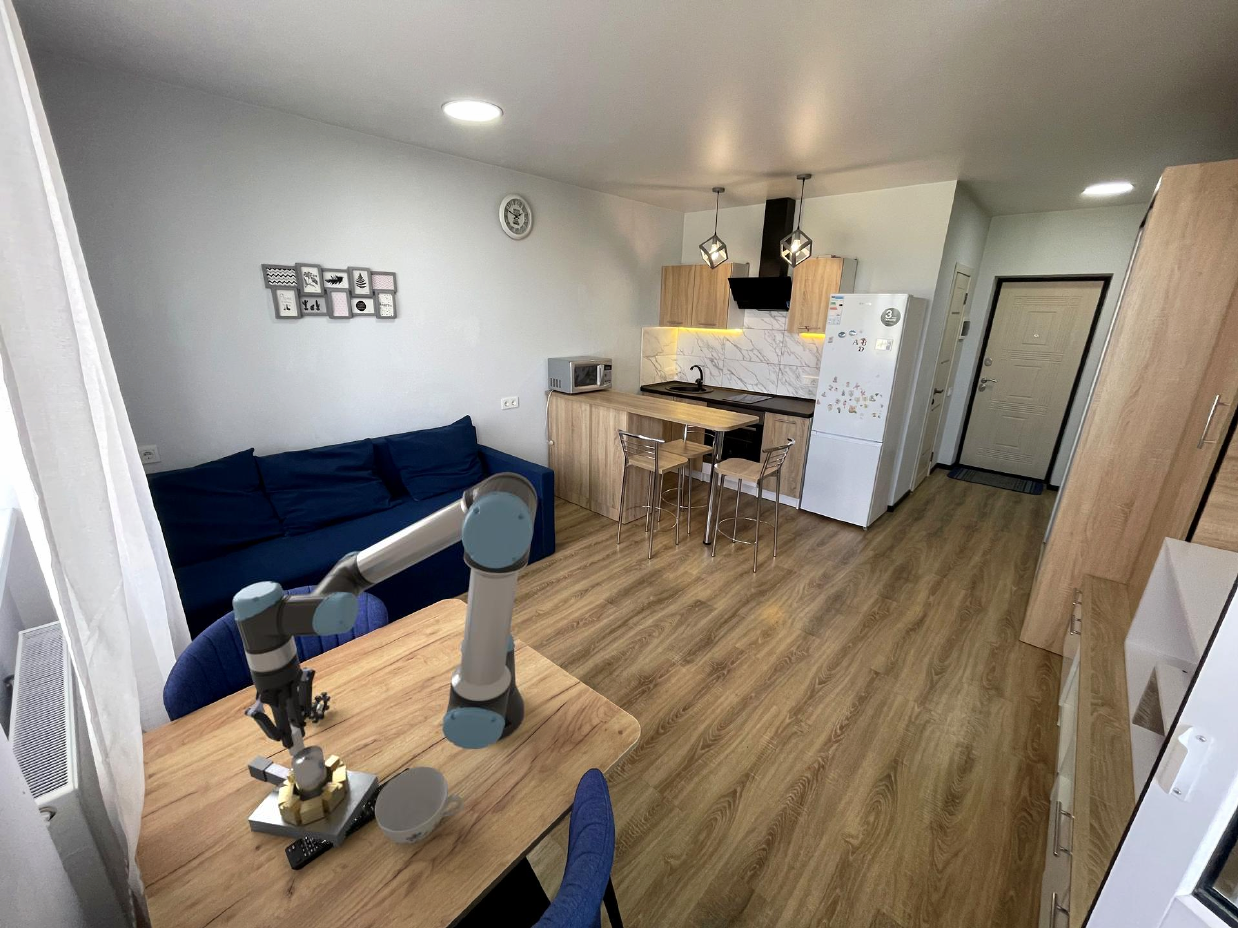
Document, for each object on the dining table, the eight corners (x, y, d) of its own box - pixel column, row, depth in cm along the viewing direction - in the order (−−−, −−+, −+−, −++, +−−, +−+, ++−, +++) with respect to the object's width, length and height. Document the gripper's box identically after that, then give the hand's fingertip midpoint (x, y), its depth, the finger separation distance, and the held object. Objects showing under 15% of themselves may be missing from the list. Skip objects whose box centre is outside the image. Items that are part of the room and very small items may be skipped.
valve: (265, 725, 113) (314, 730, 113) (260, 703, 111) (309, 707, 110) (286, 703, 120) (332, 707, 119) (281, 682, 117) (328, 686, 117)
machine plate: (379, 786, 100) (371, 737, 96) (339, 846, 89) (328, 794, 85) (300, 772, 102) (289, 724, 98) (251, 830, 91) (236, 778, 87)
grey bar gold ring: (281, 749, 104) (277, 735, 102) (360, 778, 98) (357, 763, 97) (228, 796, 94) (223, 780, 92) (312, 832, 88) (309, 816, 87)
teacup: (369, 866, 86) (363, 834, 83) (392, 798, 98) (387, 768, 95) (457, 856, 88) (453, 825, 85) (468, 791, 99) (466, 761, 97)
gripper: (292, 634, 100) (313, 724, 107) (224, 677, 88) (253, 775, 95) (318, 643, 97) (338, 734, 104) (252, 688, 85) (280, 787, 93)
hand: (298, 753), depth 100 cm, fingers closed
